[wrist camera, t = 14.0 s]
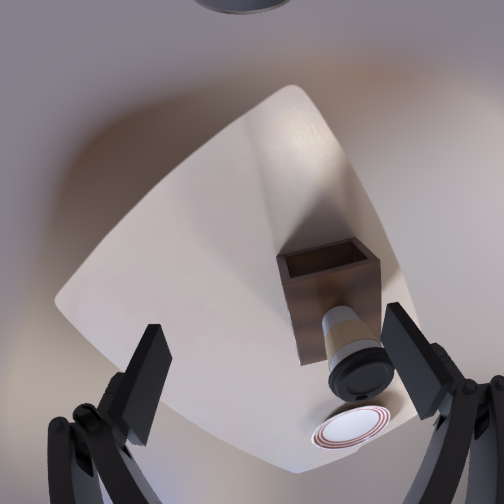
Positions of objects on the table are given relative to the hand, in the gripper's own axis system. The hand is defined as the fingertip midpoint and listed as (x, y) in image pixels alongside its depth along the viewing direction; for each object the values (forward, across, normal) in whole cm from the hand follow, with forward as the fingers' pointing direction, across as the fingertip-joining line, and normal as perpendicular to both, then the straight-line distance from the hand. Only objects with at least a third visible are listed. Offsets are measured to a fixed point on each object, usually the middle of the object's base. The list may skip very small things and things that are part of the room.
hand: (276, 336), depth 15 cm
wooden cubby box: (+36, +11, -18) cm, 42 cm away
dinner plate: (+35, +25, -74) cm, 86 cm away
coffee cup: (+24, +11, -18) cm, 32 cm away
